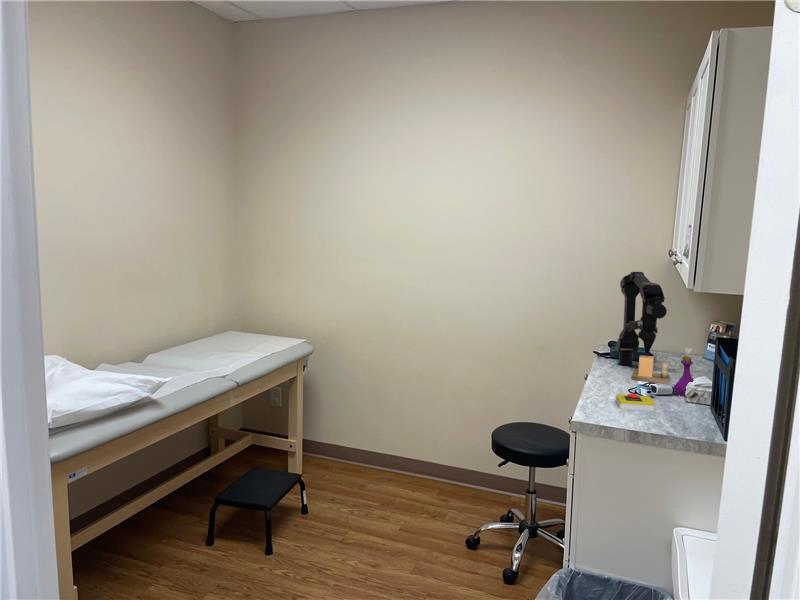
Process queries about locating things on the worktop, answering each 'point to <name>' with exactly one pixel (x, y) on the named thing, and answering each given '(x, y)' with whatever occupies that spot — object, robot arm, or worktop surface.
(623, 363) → the robot arm
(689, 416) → the worktop surface
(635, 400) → the emergency button
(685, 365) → the perfume bottle
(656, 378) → the wooden holder
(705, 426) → the worktop surface
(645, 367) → the kraft paper carton
